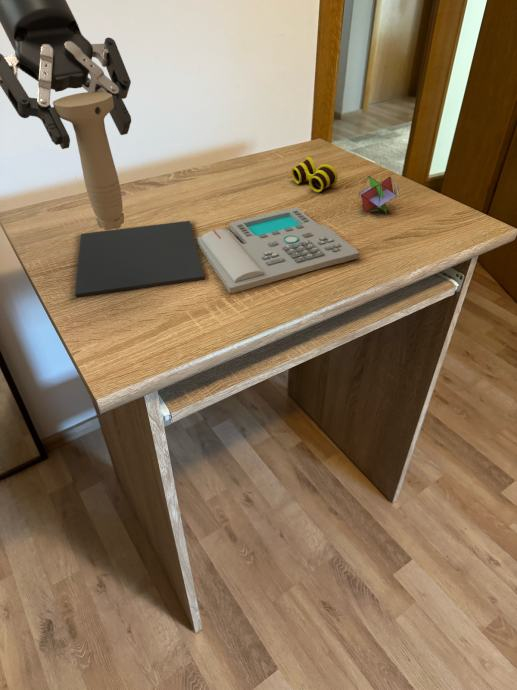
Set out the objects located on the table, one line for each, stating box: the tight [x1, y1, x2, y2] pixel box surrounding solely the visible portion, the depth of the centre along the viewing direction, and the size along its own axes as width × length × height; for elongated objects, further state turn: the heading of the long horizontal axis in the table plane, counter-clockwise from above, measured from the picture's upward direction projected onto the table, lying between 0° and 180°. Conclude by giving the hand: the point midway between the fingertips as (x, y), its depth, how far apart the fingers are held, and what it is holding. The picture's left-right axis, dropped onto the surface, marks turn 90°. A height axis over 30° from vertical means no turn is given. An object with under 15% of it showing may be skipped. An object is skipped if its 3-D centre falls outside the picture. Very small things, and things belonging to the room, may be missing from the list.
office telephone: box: [197, 207, 360, 294], centre depth 84 cm, size 23×3×20 cm
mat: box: [74, 220, 206, 298], centre depth 83 cm, size 20×20×1 cm
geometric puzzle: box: [358, 175, 400, 214], centre depth 93 cm, size 7×7×8 cm
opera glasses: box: [290, 156, 339, 193], centre depth 104 cm, size 10×5×5 cm, turn 38°
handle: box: [52, 91, 125, 231], centre depth 58 cm, size 5×6×15 cm
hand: (96, 137), depth 54 cm, fingers closed on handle, 6 cm apart
